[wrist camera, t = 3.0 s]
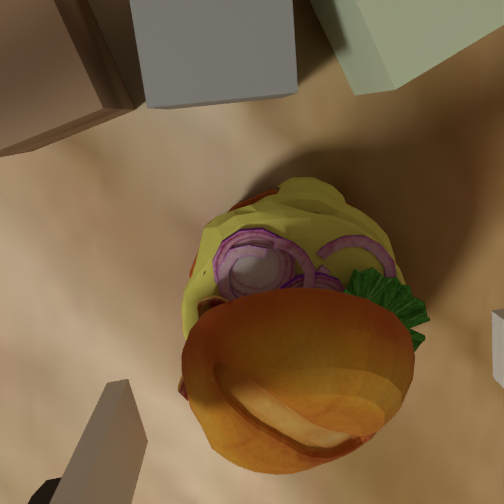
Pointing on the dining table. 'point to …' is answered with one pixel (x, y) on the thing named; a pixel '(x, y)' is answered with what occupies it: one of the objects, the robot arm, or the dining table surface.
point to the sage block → (401, 36)
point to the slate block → (214, 51)
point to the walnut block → (54, 74)
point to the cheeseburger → (296, 329)
